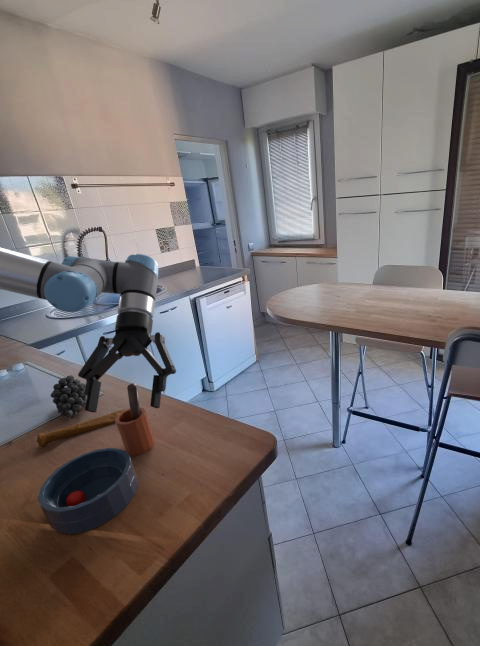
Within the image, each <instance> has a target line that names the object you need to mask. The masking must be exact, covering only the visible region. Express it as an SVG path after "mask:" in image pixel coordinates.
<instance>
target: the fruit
mask: <svg viewBox="0 0 480 646" xmlns="http://www.w3.org/2000/svg"><path fill="white" fill-rule="evenodd" d="M57 382H58V383H55V384H54V385H53V391H52V392H51V393H50V397H51V398H53V399H52V403H53V404H55V405H56V409H57V414H59V415H60V416H61V417H64V418H65V419H69V418H70V419H76V418H77V417H78V412H80V411H82V409H83V407H82V406H83V405H84V404H85V402H86V400H87V395H85V393H84V392H85V387H86V383H84V382H81V380H80V379H78V378H76V379H75V377H74V376H73V375H71V374H69V375H67V376H66V377H62V378H60V379H59V380H58V381H57Z"/></svg>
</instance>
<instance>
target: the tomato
mask: <svg viewBox="0 0 480 646" xmlns="http://www.w3.org/2000/svg"><path fill="white" fill-rule="evenodd" d="M85 499H86V496H85V494H84V493H83V492H82V491H74V492H72V493H71V494H69V496H68V497H67V499H66V505H67V507H70V506H76V505H78V504H81V503H84V502H85Z"/></svg>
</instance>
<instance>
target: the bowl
mask: <svg viewBox="0 0 480 646" xmlns="http://www.w3.org/2000/svg"><path fill="white" fill-rule="evenodd" d="M138 482H139V480H138V475H137V473H136V470H135V467H134V464H133V461H132V459H131V455H128V454H127V452H126V451H125V450H123V449H121V448H118V447H105V448H104V447H103V448H97V449H93V450H91V451H88V452H84V453H82V454H80V455H78V456H75V457H73V458H72V459H70V460H68V461H67V462H65V463H63V464H62V465H60V466H59V467H58V468H57V469H56V470H54V471H53V472H52V473H51V474H50V475H49V476H48V477H47V478H46V480H45V481H44V482H43V483H42V485H41V487H40V488H39V491H38V495H37V500H38V504H39V507H40V508H41V510H42V512H43V514H44V516H45V518H46V520H47V522H48V524H49V526H50V528H51V529H53V530H54V531H56V532H57V533H59V534H66V535H74V534H79V533H85V532H89V531H92V530H93V529H96V528H98V527H101V526H103V525H104V524H105V523H107V522H109V521H111V520H112V519H113V518H115V517H117V515H119V513H121V512H122V511H124V509H125V508H126V507H127V506H128V505H129V504H130V502H131V501H132V500H133V498H134V497H135V494H136V492H137V490H138V486H139V483H138ZM74 491H82V492H83V493H84V494H85V496H86V499H85V502H84V503H81V504H78V505H76V506H70V507H67V505H66V499H67V497H68V496H69V494H71V493H72V492H74Z"/></svg>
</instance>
